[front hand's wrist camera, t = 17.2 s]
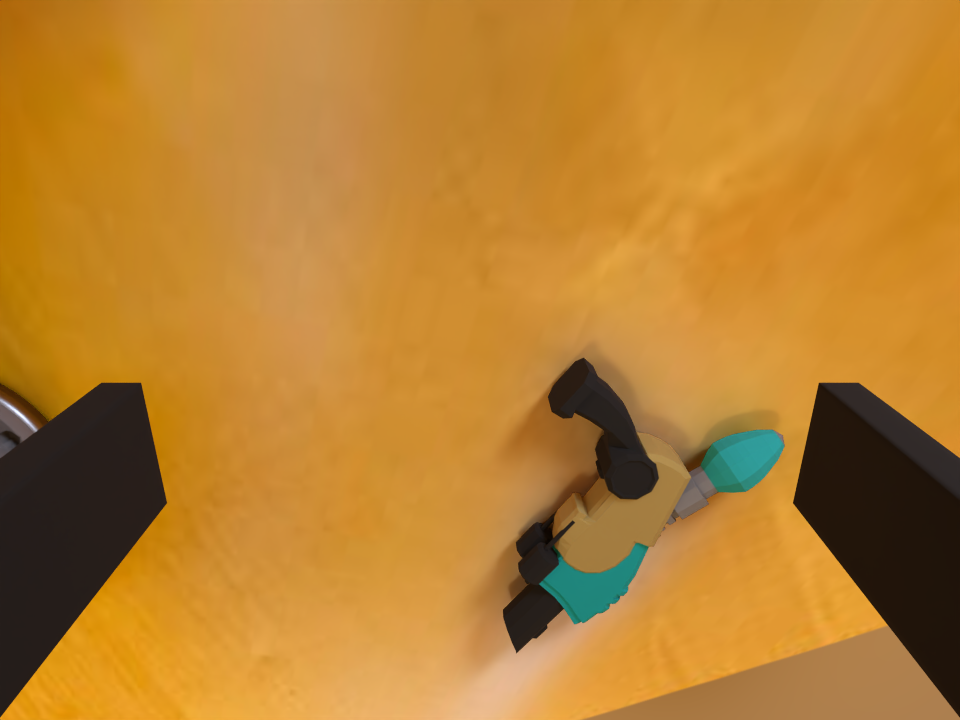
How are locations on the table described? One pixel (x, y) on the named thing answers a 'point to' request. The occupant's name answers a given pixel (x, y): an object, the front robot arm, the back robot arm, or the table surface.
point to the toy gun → (619, 507)
